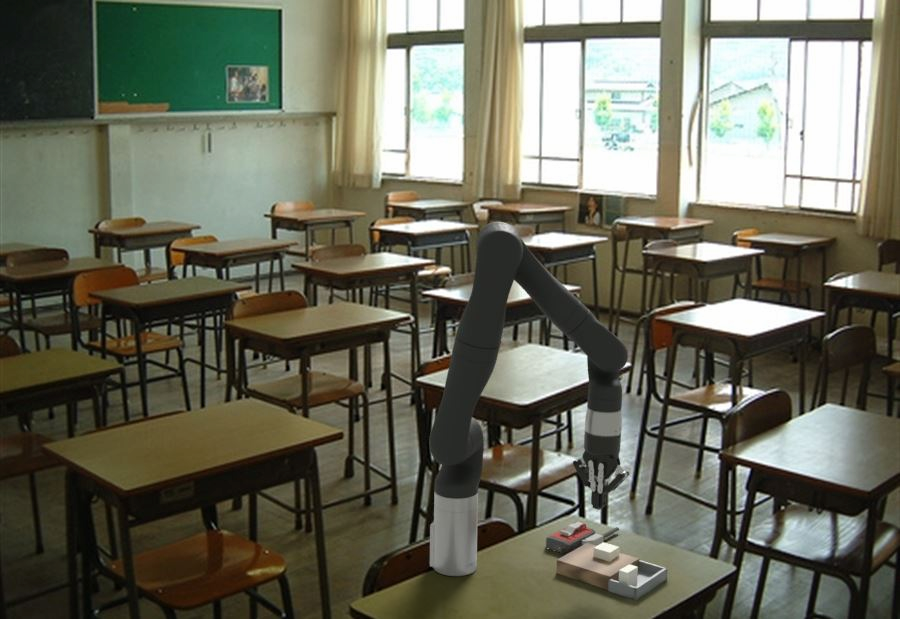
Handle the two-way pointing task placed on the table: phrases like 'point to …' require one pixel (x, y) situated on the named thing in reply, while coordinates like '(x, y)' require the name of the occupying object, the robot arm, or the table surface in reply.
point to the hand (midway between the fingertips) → (598, 508)
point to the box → (640, 581)
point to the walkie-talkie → (575, 538)
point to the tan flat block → (592, 566)
